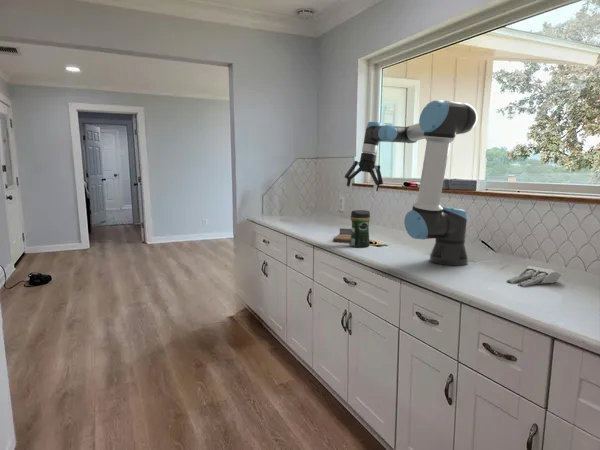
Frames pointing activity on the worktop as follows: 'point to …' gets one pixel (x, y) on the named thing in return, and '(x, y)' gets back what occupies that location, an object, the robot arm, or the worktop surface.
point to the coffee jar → (360, 228)
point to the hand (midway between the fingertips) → (360, 195)
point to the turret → (535, 276)
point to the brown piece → (343, 236)
